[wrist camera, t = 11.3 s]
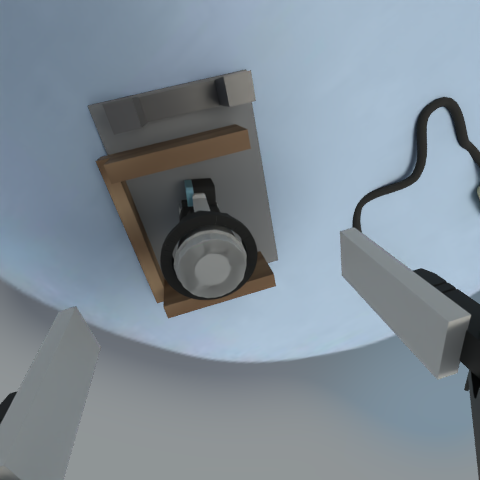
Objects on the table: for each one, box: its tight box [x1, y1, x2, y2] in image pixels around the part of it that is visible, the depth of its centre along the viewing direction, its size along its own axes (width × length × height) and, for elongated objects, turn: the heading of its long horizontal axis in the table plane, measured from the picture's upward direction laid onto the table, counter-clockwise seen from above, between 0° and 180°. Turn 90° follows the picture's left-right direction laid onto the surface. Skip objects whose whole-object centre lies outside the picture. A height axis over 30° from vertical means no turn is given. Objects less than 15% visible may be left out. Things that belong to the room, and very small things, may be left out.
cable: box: [353, 97, 480, 233], centre depth 28 cm, size 16×16×4 cm
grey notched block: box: [102, 70, 256, 135], centre depth 19 cm, size 2×8×4 cm, turn 103°
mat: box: [88, 70, 278, 279], centre depth 24 cm, size 16×11×1 cm
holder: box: [96, 124, 276, 318], centre depth 23 cm, size 12×10×4 cm
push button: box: [160, 178, 258, 300], centre depth 20 cm, size 7×5×10 cm
